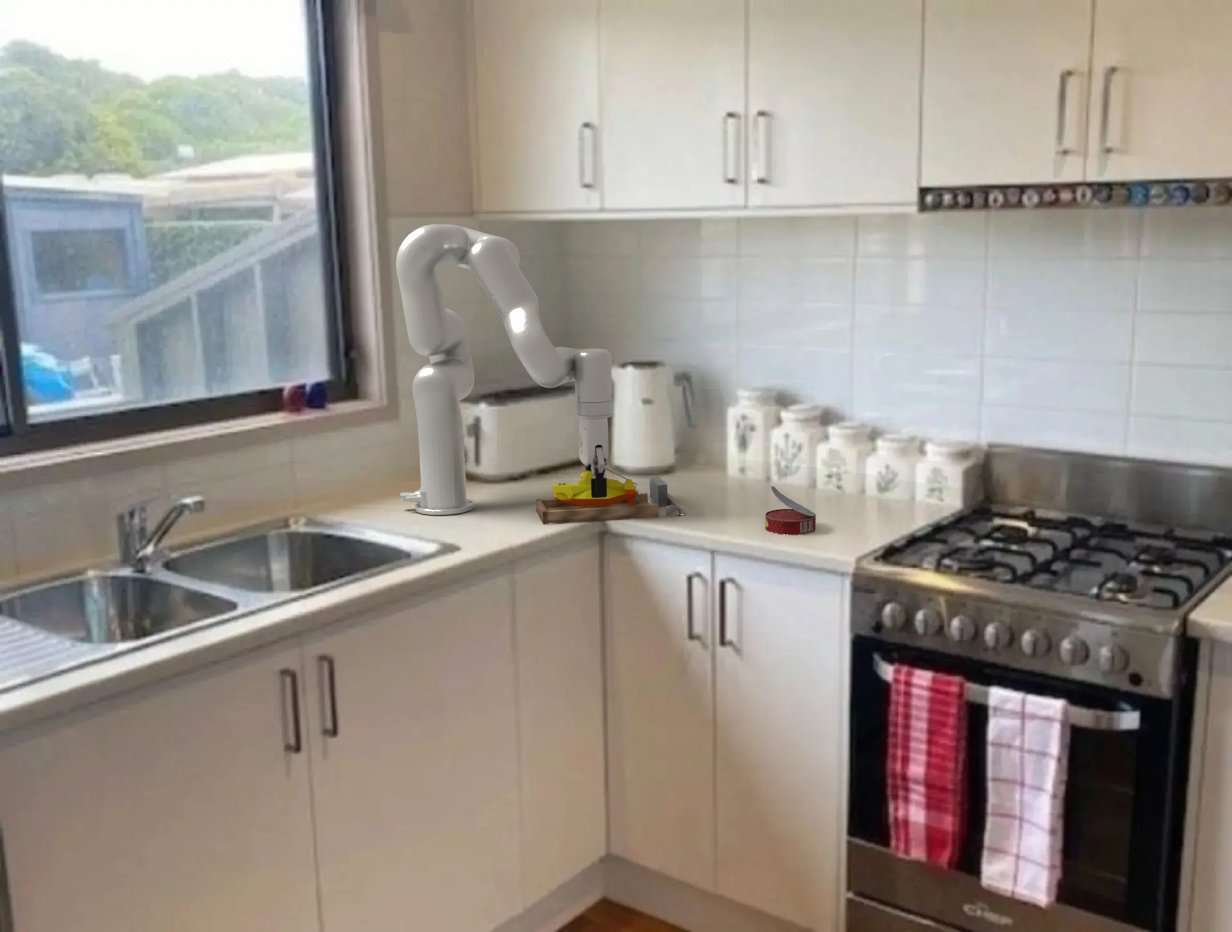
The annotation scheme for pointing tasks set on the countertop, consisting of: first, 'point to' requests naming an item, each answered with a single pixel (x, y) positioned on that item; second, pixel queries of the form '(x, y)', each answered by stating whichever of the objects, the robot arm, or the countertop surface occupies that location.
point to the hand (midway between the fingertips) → (595, 492)
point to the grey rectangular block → (658, 491)
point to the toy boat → (582, 492)
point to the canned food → (790, 518)
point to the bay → (602, 510)
